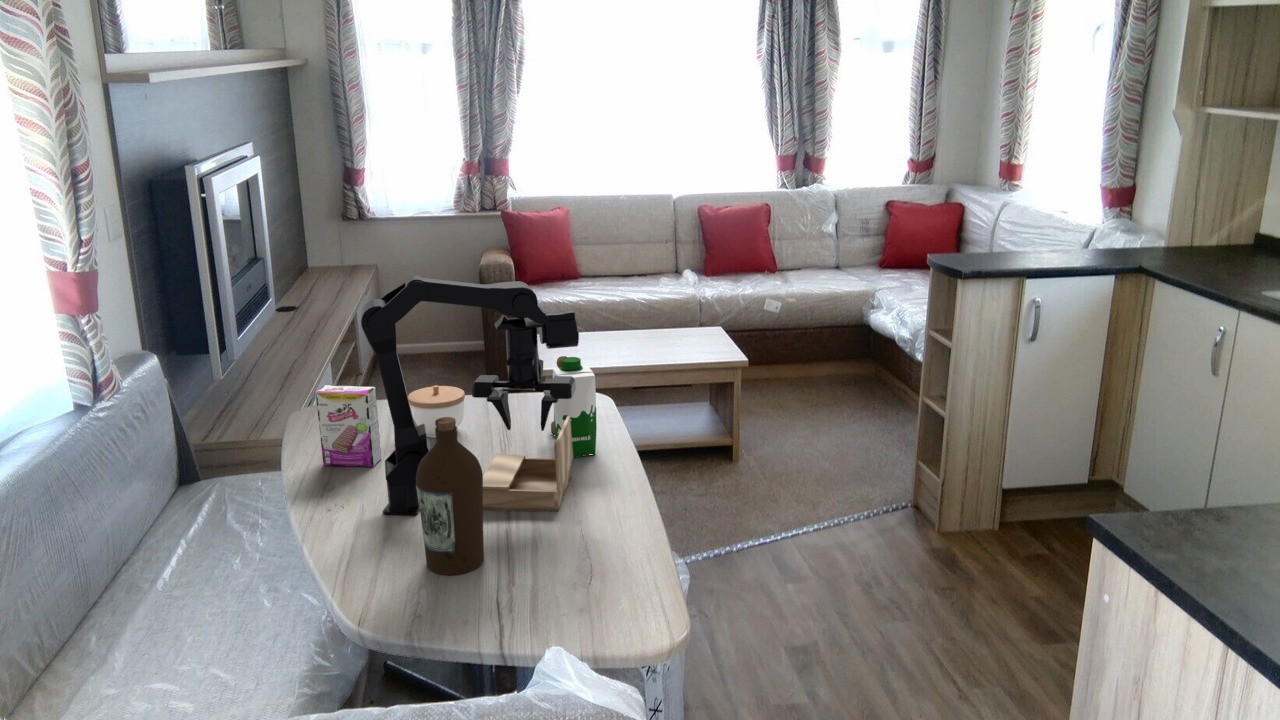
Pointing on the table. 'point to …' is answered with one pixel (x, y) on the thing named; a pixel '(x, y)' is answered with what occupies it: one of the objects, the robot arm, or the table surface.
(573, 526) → the table surface
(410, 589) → the table surface
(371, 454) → the candy bar box
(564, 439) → the flap
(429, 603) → the table surface
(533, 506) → the wooden box
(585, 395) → the milk carton
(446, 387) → the lidded bowl
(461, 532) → the olive oil
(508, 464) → the flap
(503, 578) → the table surface
